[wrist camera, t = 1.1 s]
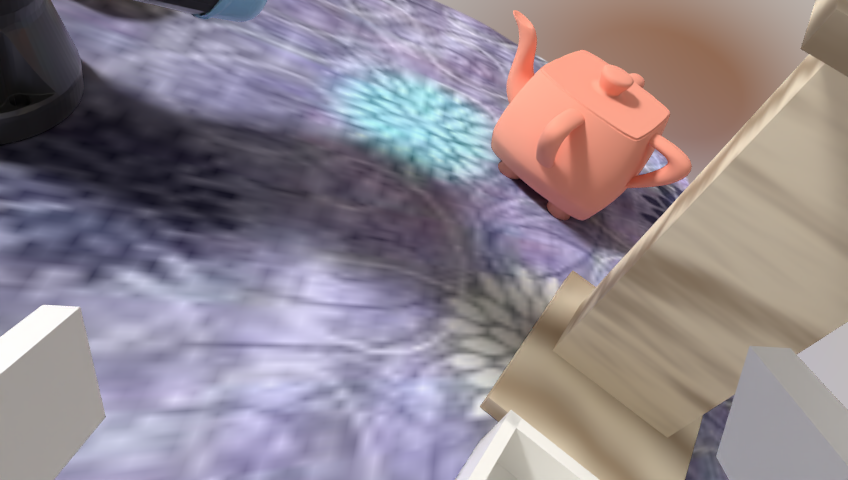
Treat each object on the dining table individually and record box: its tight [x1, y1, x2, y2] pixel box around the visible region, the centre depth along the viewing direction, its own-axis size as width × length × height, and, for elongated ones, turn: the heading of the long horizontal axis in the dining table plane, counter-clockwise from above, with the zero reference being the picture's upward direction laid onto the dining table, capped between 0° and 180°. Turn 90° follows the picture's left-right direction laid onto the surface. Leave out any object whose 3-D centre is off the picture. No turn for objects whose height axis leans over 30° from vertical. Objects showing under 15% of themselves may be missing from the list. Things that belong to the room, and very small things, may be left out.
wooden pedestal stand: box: [480, 0, 848, 480], centre depth 33 cm, size 16×14×32 cm
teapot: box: [491, 10, 692, 221], centre depth 56 cm, size 17×16×13 cm
